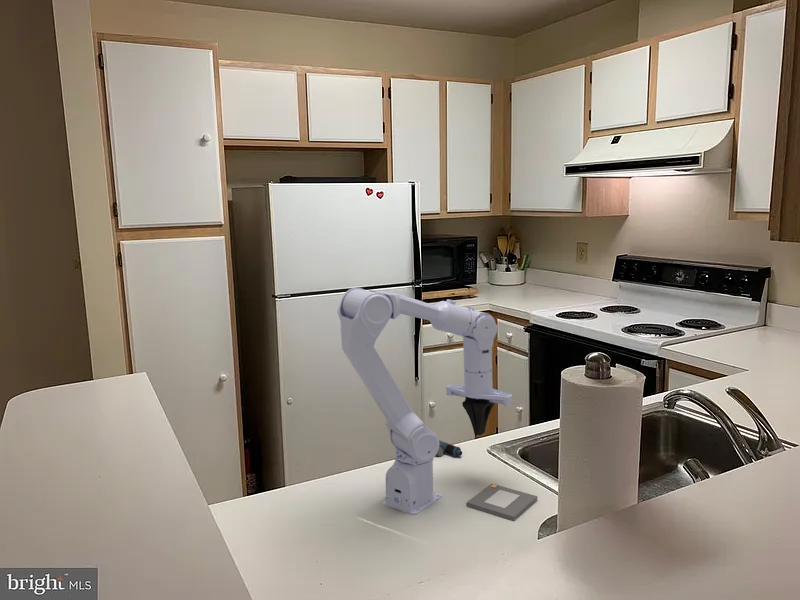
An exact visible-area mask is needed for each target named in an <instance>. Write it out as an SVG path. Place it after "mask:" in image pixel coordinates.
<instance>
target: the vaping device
mask: <svg viewBox="0 0 800 600" xmlns="http://www.w3.org/2000/svg"><path fill="white" fill-rule="evenodd" d="M444 454H445V455H448V456H451V457H454V458H458V457H460V456H462V455H463V451H462V449H461V447H460V446H456V445H453V444H450V443H448V442H445V441H442V440H440V439H439V449H438V452H437V454H436V455H435V457H442V456H443V455H444Z"/></svg>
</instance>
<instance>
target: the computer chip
mask: <svg viewBox="0 0 800 600" xmlns="http://www.w3.org/2000/svg"><path fill="white" fill-rule="evenodd" d="M537 501H538V495H534V494H530V493H528V492H523V491H522V490H521V491H519V490H516V489H513V488H511V487H506V486H503V485H498V484H496V483H491V484H489V485H488V486H486V487H485V488H483V490H481V491H479V492H478V493H477V494H476V495H474V496H473V497H472V498H470V499H468V500H467V501H466V503H465V504H466V507H468V508H472V509H473V510H474V509H475V510H477V511H480V512H483V513H484V512H485V513H487V514H491V515H493V516H496V517H500V518H504V519H506V520H509V521H513V522H515V520H517V519H518V518H519V517H520V516H522V515H523V513H525V512H526V511H527V510H528V509H529V508H531V506H533V504H535V503H536V502H537Z"/></svg>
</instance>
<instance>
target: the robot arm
mask: <svg viewBox="0 0 800 600" xmlns="http://www.w3.org/2000/svg"><path fill="white" fill-rule="evenodd" d="M456 303H457V302H456V301H455V300H453V299H446V301H445V300H441V301H438V302H437V303H436V304H432V303H431V304H430V303H428V302H424V301H423V300H419V299H415V298H412V297H409V296H407V295H406V296H405V295H403V294H399V293H395V292H391V291H384V290H376V289H368V290H367V289H364V288H362V287H352V288H350V289H348V290H347V291H346V292H344V294H343V295H342V297H341V300H340V302H339V306H338V309H337V316H338V317H339V320H340V337H341V338H340V339H341V349H342V351H343V353H344V354H345V356H346V357H347V359H348V361H349V362H350V363H351V365H352V367H353V368H354V370H355V372H356V373H357V375H358V377H359V378H360V380H361V381H362V383H363V384H364V386H365V388H366V390H367V391H368V393H369V394H370V396H371V397H372V399H373V401H374V402H375V403H376V406H378V408H379V410H380V411H381V413H382V414H383V416H384V418H385V419H386V422H385V425H386V427H387V429H388V432H389V440H390V443H391V444H392V445H393V446H394V447H395V459H394V462H393V464H392V465H391V466H390V467H389V468H388V469H387V470H386V473H385V500H383V501H382V505H383V506H387V507H389V508H392V509H395V510H398V511H401V512H404V513H407V514H410V515H413V516H415V515H418V514H419V513H421V512H422V511H424V510H425V509H426V508H429V507H430V506H431V505H433V504H434V503H436V502H437V501H439V500H440V499H441V498H443V495H442V494H441V493H437V492H434V463H433V461H434V458H435V457H436V456H435V455H436V454H437V452H438V449H439V440H440V439H439V437H438V435H437V433H436V432H434V431H433V430H431V429H429V428H428V426H426V424H425V423H424V421H423V420H422V419H421V418H420V417H419V416H418V415H417V414H416V413H415V412H414V411H413V409H412V408H411V406H410V405H409V403H408V401H407V400H406V398H405V396H404V395H403V393H402V391H401V390H400V388H399V387H398V385H397V383H396V381H395V379H394V378H393V376H392V375H391V373H390V371H389V370H388V368H387V367H386V365H385V363H384V362H383V360H382V358H381V357H380V355H379V353H378V352H377V350H376V348H375V344H376V341H377V339H378V338H379V336H380V335H381V333H382V332H383V330H384V329H385V328H386V326H387V325H388V322H389V321H390V319H392V320H395V319H397V318H398V317H399V316H400V315H405V316H409V317H414V318H418V319H422V320H426V321H429V322H430V325H431V326H432V327H433V329H435V330H437V331H441V332H444V333H449V334H452V335H456V336H460V337H462V341H463V342H462V343H463V348H462V349H463V350H462V351H463V376H464V377H463V379H464V380H463V381H464V384H454V383H453V384H452V383H451V384H448V385H446V387H445V388H446V389H445V391H446V396H451V397H452V396H456V397H460V398H461V397H462V398H465V399H464V400H463V401H462V403H461V404H462V407H463V408H464V410H465V413H466V415H468V418H469V421H470V423H471V428H472V430H473V432H474V433H473V434H474V435H475V436H482V435H483V434H484V433H485V432H486V427H487V423H488V419H489V416H490V413H491V412H492V410H493V408H494V406H495V404H500V405H503V406H504V407H510V406H512V405H513V404H514V401H513V400H514V399H513V398H514V397H513V396H514V395H513V394H511V393H507V392H504V391H501V390H498V389H496V388H493V387H494V386H493V347H494V340H495V338H496V336H497V333H498V329H499V326H498V324H497V323H496V321H495V318H494V317H493V316H492V315H491V314H490V313H488V312H483V311H479V310H475V307H473V306H469V305H467V306H462V305H459V304H456Z"/></svg>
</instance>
